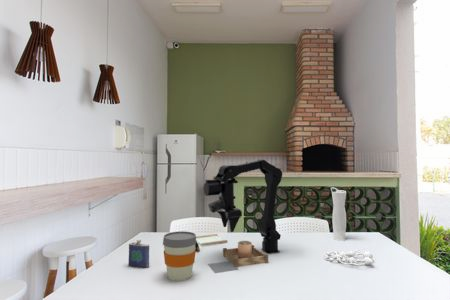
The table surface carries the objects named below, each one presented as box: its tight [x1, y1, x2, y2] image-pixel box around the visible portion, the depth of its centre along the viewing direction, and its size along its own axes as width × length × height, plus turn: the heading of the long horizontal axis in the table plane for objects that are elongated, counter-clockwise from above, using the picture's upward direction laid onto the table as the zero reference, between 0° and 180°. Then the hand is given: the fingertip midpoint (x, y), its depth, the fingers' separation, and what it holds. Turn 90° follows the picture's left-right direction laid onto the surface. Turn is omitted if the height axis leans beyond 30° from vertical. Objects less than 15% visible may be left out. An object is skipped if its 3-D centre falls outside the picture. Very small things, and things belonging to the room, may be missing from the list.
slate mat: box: [207, 260, 240, 274], centre depth 117 cm, size 10×10×1 cm
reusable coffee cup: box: [162, 230, 197, 282], centre depth 109 cm, size 12×13×15 cm
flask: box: [128, 239, 150, 269], centre depth 118 cm, size 9×3×11 cm, turn 74°
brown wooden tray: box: [222, 244, 269, 268], centre depth 126 cm, size 15×15×4 cm
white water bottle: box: [330, 187, 347, 242], centre depth 158 cm, size 8×8×28 cm
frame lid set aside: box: [196, 233, 228, 247], centre depth 154 cm, size 14×14×1 cm
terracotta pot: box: [237, 240, 253, 259], centre depth 126 cm, size 6×6×7 cm
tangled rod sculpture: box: [323, 249, 374, 267], centre depth 124 cm, size 19×14×4 cm
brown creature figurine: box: [195, 241, 201, 253], centre depth 138 cm, size 12×10×8 cm
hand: (228, 229), depth 127 cm, fingers open, 9 cm apart
